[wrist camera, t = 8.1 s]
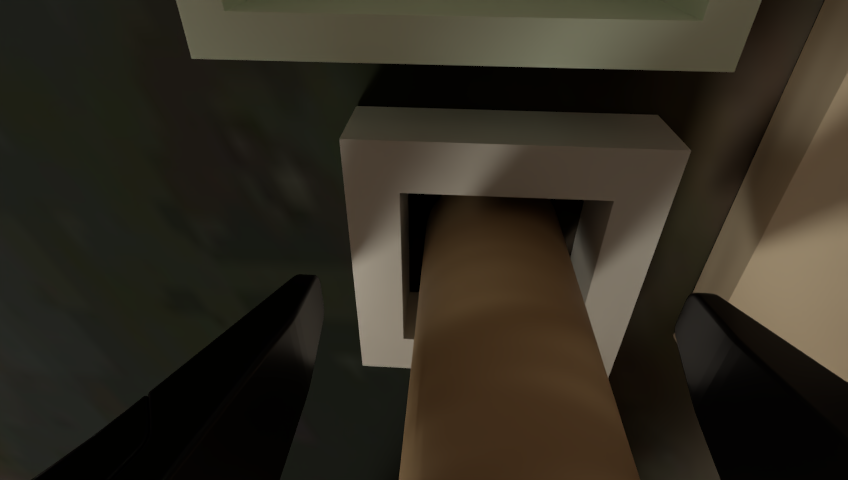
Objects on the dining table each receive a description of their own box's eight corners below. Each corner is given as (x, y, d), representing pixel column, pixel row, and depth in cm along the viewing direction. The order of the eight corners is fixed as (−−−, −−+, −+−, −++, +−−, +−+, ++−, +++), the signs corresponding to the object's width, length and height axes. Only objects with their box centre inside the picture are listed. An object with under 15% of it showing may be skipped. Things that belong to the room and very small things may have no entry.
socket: (658, 114, 9) (691, 150, 8) (592, 328, 12) (608, 378, 11) (356, 106, 9) (339, 139, 8) (372, 317, 13) (362, 365, 11)
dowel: (569, 176, 10) (782, 699, 3) (548, 285, 12) (661, 771, 5) (425, 172, 10) (360, 664, 4) (426, 281, 12) (383, 745, 5)
